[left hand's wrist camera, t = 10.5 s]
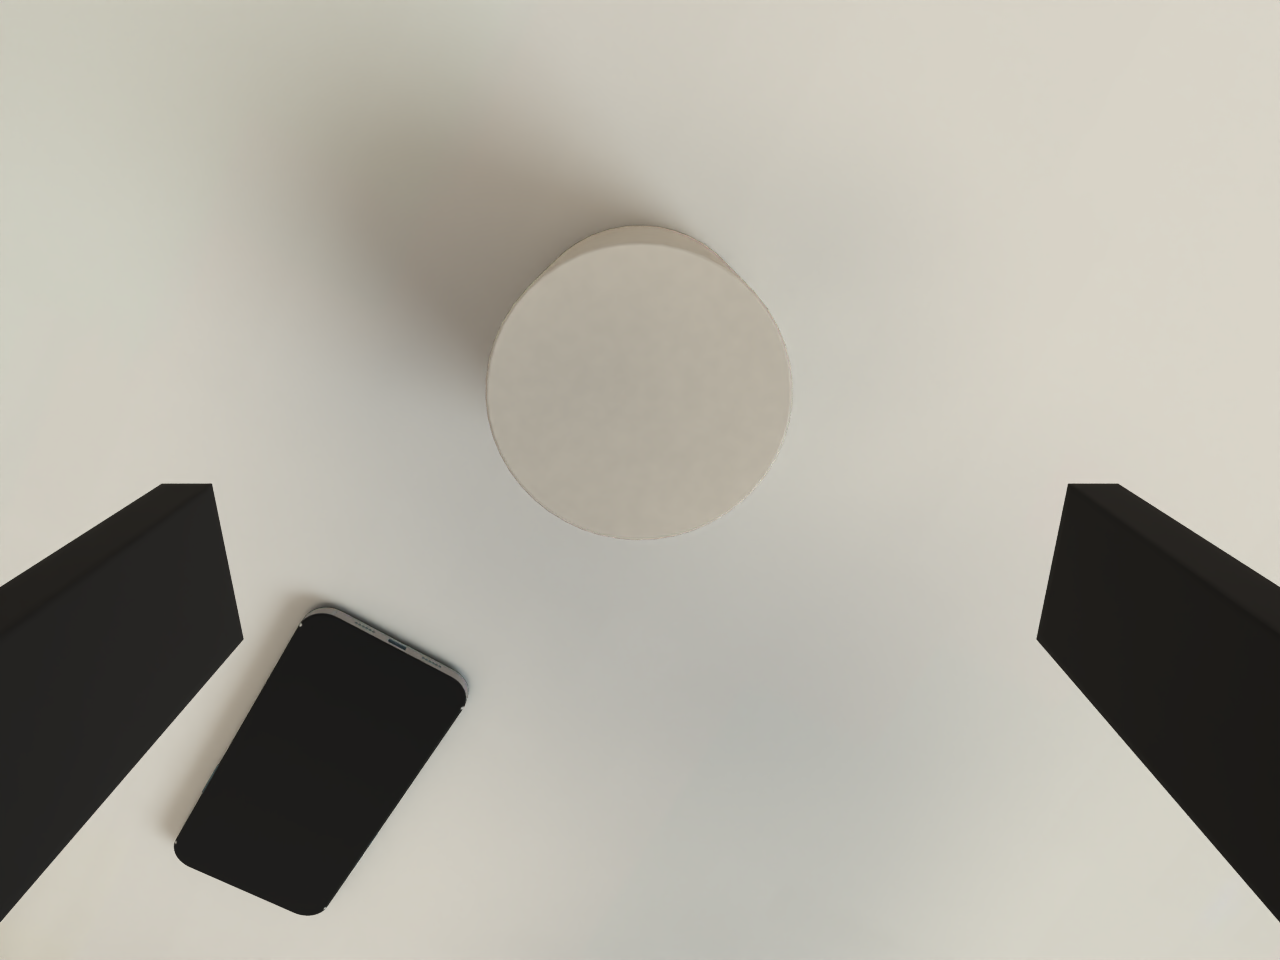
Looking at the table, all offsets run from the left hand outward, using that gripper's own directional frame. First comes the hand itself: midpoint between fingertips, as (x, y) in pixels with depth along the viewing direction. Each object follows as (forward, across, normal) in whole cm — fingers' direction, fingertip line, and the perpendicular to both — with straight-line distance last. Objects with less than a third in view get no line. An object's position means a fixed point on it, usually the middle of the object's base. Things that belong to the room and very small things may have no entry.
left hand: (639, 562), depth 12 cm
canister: (+16, 0, 0) cm, 16 cm away
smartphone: (+16, +14, +18) cm, 28 cm away
